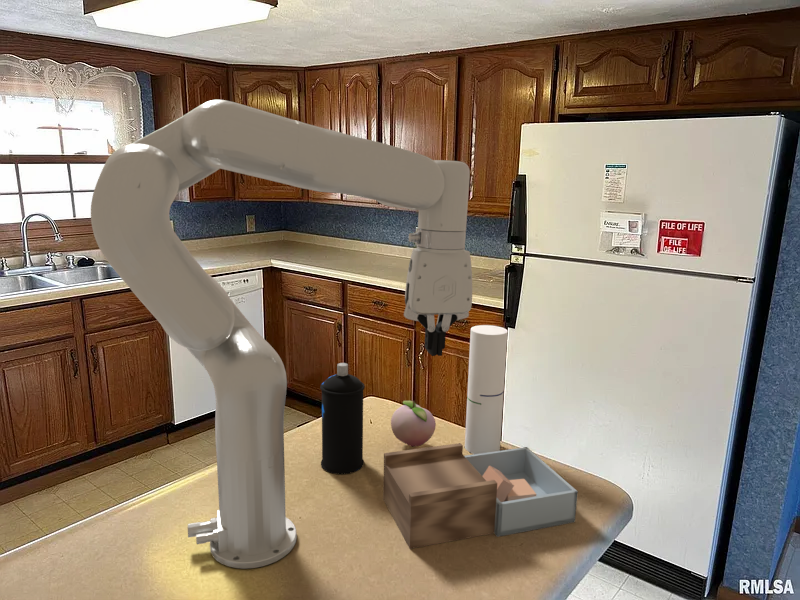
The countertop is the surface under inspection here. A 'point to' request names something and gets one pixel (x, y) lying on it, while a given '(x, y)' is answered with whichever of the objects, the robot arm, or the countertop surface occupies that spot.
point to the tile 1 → (499, 482)
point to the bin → (551, 489)
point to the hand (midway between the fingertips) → (434, 353)
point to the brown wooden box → (437, 495)
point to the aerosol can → (342, 422)
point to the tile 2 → (520, 490)
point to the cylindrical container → (485, 388)
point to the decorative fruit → (412, 424)
